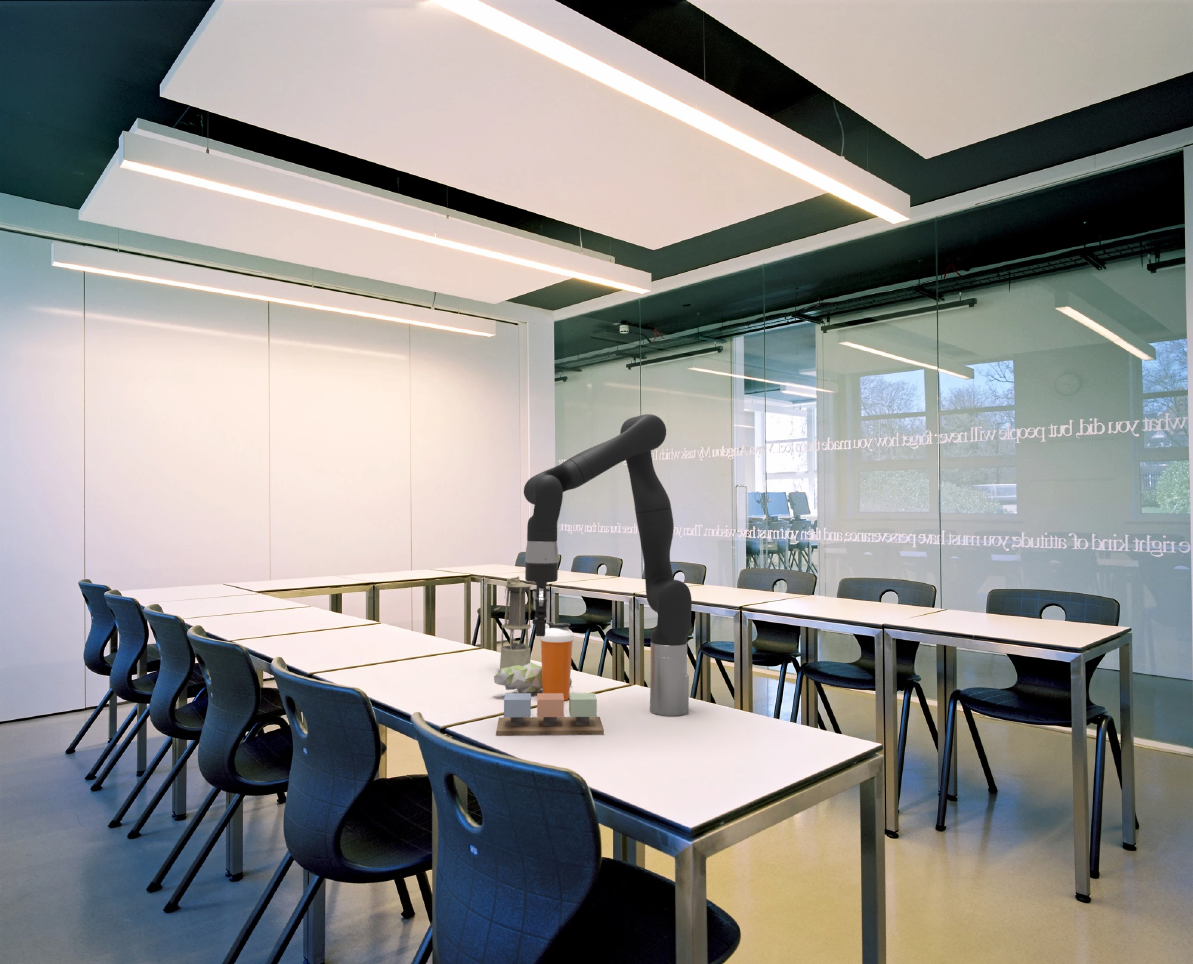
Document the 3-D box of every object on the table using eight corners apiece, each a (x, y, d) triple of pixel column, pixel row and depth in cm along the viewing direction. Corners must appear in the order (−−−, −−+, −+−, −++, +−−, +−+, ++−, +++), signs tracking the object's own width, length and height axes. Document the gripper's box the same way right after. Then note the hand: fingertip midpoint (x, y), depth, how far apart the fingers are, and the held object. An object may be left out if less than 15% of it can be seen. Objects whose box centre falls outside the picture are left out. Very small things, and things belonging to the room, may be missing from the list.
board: (599, 721, 175) (599, 708, 175) (603, 734, 164) (604, 721, 164) (498, 721, 173) (499, 708, 173) (496, 735, 162) (496, 721, 162)
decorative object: (556, 680, 214) (483, 673, 199) (573, 660, 210) (501, 650, 195) (565, 706, 208) (491, 700, 193) (583, 685, 204) (509, 678, 189)
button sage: (594, 709, 172) (594, 693, 172) (596, 716, 166) (596, 699, 166) (569, 710, 172) (569, 693, 172) (570, 716, 166) (570, 699, 166)
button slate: (530, 710, 171) (531, 693, 171) (530, 717, 165) (530, 699, 165) (504, 710, 171) (505, 693, 171) (503, 717, 165) (504, 699, 165)
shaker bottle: (567, 703, 191) (569, 626, 192) (535, 701, 192) (536, 624, 193) (575, 695, 199) (576, 621, 200) (544, 693, 201) (545, 620, 202)
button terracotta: (562, 710, 172) (563, 693, 172) (563, 717, 166) (563, 699, 166) (537, 710, 171) (537, 693, 171) (537, 717, 165) (537, 699, 165)
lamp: (538, 673, 226) (540, 576, 228) (504, 679, 217) (506, 578, 219) (517, 668, 234) (519, 574, 235) (484, 674, 225) (486, 576, 226)
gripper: (558, 562, 164) (557, 640, 163) (557, 559, 177) (556, 631, 176) (525, 562, 163) (523, 640, 162) (526, 559, 176) (524, 631, 176)
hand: (540, 635), depth 169 cm, fingers closed
